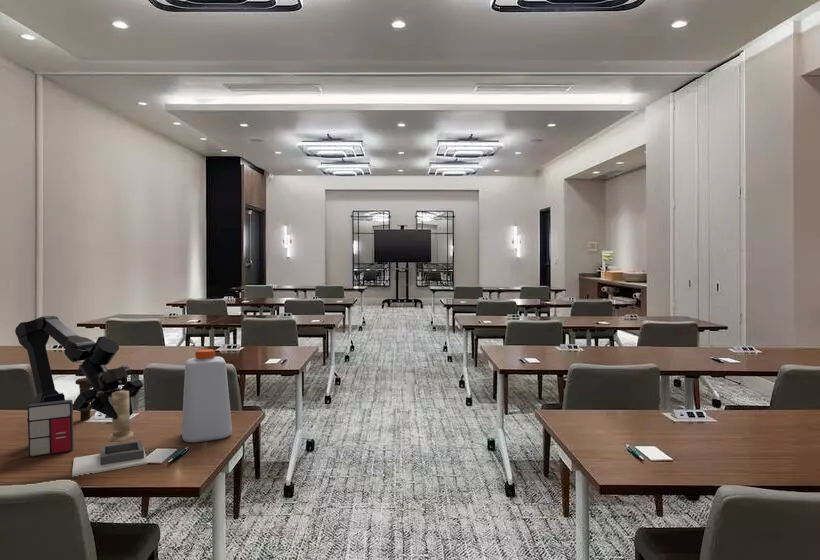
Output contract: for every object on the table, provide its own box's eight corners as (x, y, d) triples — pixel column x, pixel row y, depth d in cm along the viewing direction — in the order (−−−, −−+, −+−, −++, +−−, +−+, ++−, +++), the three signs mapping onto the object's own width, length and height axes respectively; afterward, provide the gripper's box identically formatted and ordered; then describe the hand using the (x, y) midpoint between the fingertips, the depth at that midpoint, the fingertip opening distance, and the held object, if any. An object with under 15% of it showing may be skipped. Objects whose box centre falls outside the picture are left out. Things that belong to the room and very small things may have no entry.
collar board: (71, 477, 142) (71, 466, 142) (74, 459, 155) (73, 450, 155) (147, 463, 151) (147, 454, 151) (143, 448, 164) (143, 439, 164)
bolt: (85, 422, 194) (84, 380, 194) (73, 421, 195) (72, 380, 195) (97, 417, 200) (96, 377, 200) (85, 417, 201) (84, 377, 201)
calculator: (28, 458, 157) (26, 407, 157) (30, 453, 161) (29, 403, 161) (72, 451, 162) (71, 402, 162) (73, 447, 166) (72, 399, 166)
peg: (105, 442, 152) (104, 395, 152) (113, 435, 159) (112, 390, 158) (129, 441, 153) (128, 394, 153) (136, 434, 160) (136, 389, 159)
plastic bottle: (182, 445, 167) (180, 355, 167) (181, 432, 181) (179, 349, 180) (233, 438, 173) (231, 351, 173) (228, 426, 187) (227, 345, 187)
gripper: (79, 362, 149) (106, 406, 144) (138, 352, 166) (164, 391, 161) (61, 388, 152) (88, 432, 148) (121, 376, 169) (146, 415, 165)
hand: (124, 416), depth 155 cm, fingers closed on peg, 4 cm apart
